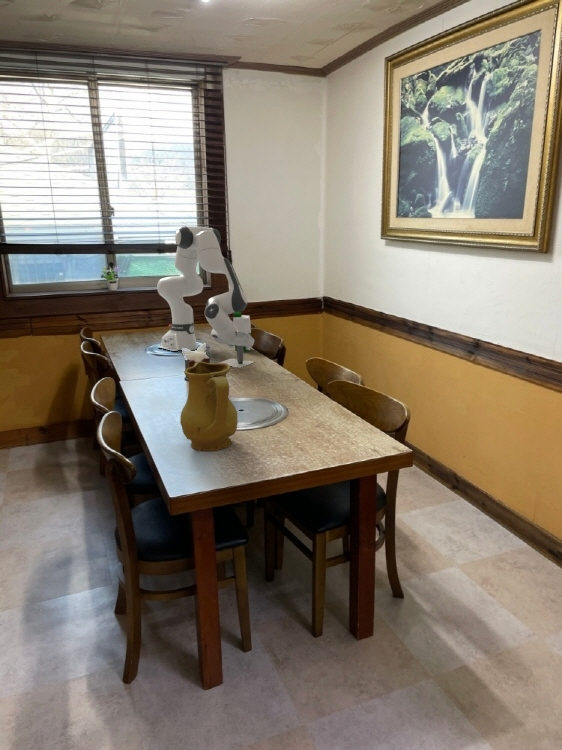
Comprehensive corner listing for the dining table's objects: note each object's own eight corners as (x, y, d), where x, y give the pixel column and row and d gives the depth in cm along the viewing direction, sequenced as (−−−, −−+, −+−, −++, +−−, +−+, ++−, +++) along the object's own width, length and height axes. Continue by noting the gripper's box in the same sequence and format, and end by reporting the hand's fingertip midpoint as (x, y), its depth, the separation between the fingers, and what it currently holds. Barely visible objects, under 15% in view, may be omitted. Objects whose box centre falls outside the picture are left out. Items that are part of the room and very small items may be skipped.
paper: (216, 364, 254) (216, 363, 254) (230, 359, 264) (230, 358, 264) (240, 368, 247) (240, 367, 247) (254, 362, 257) (254, 361, 257)
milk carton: (235, 348, 287) (233, 311, 281) (251, 348, 287) (250, 311, 281) (233, 352, 278) (232, 314, 273) (250, 351, 278) (249, 314, 273)
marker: (235, 363, 253) (234, 335, 250) (239, 362, 256) (238, 333, 252) (241, 364, 252) (240, 335, 248) (245, 363, 254) (244, 334, 251)
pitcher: (240, 430, 171) (235, 356, 163) (238, 457, 153) (231, 375, 145) (187, 433, 171) (179, 358, 163) (178, 460, 153) (169, 378, 145)
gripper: (249, 327, 238) (261, 344, 248) (212, 323, 248) (226, 340, 259) (243, 339, 235) (256, 355, 246) (207, 334, 245) (221, 351, 256)
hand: (240, 347), depth 252 cm, fingers open, 8 cm apart
